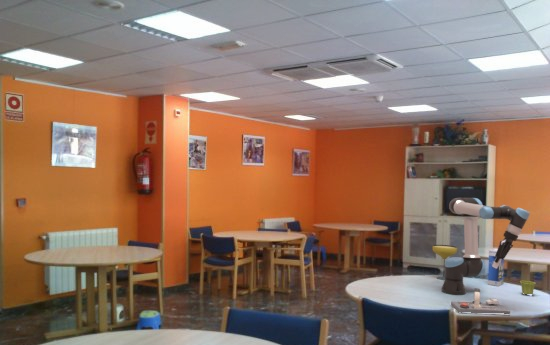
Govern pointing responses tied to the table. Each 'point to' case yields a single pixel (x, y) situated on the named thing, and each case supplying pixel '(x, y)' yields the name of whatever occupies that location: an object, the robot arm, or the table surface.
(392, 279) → the table surface
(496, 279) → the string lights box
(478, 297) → the cream tapered knob
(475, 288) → the black lever
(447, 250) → the cocktail glass
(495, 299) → the rocker
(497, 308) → the panel
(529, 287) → the plant pot
